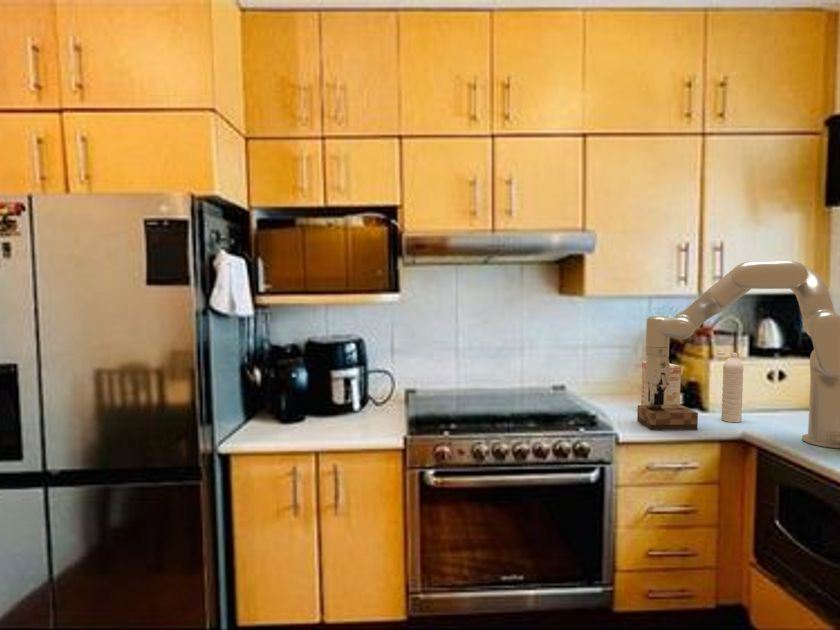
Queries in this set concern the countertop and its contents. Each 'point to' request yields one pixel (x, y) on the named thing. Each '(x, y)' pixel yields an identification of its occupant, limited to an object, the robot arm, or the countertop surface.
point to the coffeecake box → (670, 392)
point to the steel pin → (653, 407)
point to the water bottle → (732, 389)
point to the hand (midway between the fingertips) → (655, 402)
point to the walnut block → (668, 418)
